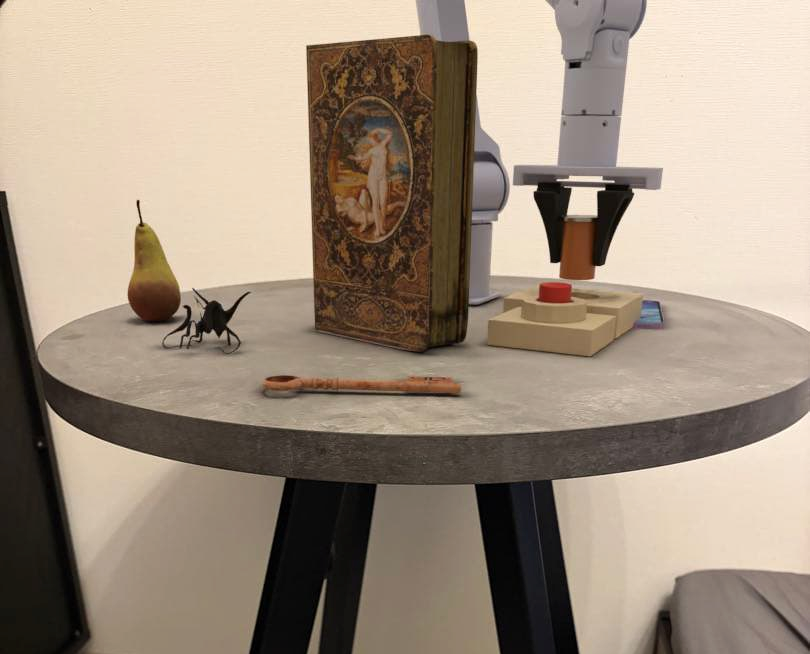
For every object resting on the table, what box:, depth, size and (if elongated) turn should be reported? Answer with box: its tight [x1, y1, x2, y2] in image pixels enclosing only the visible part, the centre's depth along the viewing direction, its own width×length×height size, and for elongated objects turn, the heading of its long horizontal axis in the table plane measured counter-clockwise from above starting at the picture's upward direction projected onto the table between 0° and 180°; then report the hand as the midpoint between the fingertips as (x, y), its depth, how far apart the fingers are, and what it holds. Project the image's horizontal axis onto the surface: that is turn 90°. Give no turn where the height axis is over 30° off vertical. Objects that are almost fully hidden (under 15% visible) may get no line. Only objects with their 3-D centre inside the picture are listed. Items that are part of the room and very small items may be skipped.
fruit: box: [127, 199, 182, 322], centre depth 89 cm, size 6×6×12 cm
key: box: [261, 374, 462, 394], centre depth 66 cm, size 6×1×15 cm
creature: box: [161, 287, 252, 355], centre depth 79 cm, size 8×5×8 cm
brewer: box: [502, 284, 644, 340], centre depth 91 cm, size 12×10×3 cm
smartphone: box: [631, 299, 665, 330], centre depth 97 cm, size 7×1×15 cm
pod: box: [558, 214, 597, 281], centre depth 88 cm, size 4×4×6 cm
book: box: [305, 34, 479, 353], centre depth 79 cm, size 16×6×25 cm, turn 47°
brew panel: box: [486, 295, 616, 357], centre depth 82 cm, size 10×8×4 cm
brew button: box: [538, 281, 573, 303], centre depth 81 cm, size 3×3×2 cm
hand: (577, 263), depth 89 cm, fingers closed on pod, 4 cm apart
